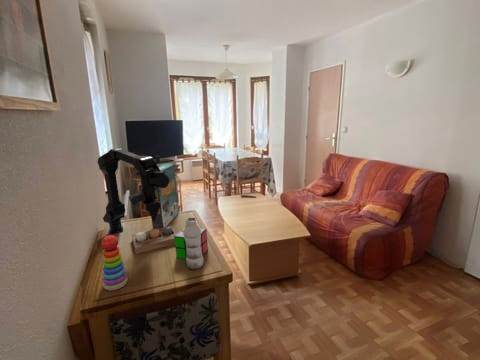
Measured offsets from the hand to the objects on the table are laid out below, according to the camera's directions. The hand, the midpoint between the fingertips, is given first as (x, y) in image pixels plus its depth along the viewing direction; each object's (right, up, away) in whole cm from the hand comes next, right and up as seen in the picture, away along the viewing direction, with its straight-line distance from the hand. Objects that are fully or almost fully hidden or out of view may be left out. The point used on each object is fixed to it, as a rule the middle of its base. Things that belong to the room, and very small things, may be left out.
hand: (152, 218), depth 117 cm
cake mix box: (-1, -5, +27) cm, 28 cm away
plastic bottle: (+23, -17, -17) cm, 33 cm away
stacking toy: (-4, -20, -26) cm, 33 cm away
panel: (+1, -12, +3) cm, 12 cm away
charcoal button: (+6, -9, +5) cm, 12 cm away
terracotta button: (0, -9, +3) cm, 10 cm away
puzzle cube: (+20, -14, -8) cm, 26 cm away
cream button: (-5, -10, 0) cm, 11 cm away
